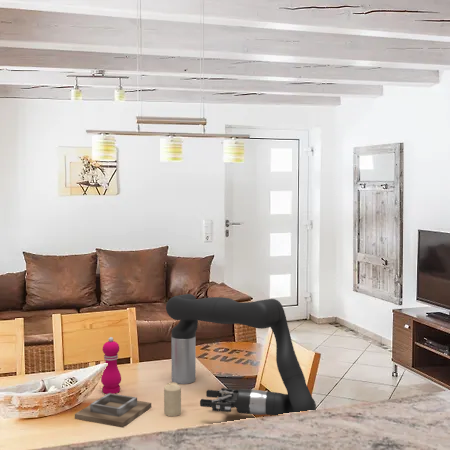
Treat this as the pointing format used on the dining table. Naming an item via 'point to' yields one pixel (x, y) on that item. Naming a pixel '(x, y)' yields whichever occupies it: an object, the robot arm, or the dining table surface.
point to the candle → (172, 399)
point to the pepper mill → (111, 368)
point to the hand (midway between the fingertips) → (203, 397)
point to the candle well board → (113, 410)
